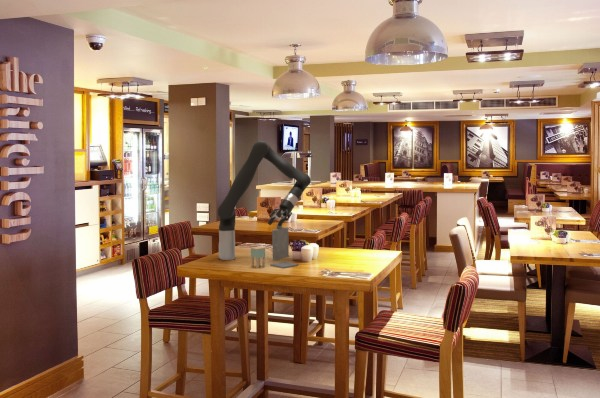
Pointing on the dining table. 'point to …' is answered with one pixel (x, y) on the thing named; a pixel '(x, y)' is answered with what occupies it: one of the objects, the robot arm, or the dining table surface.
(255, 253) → the stool
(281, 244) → the hip flask
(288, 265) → the slate mat
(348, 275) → the dining table surface
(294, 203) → the robot arm
